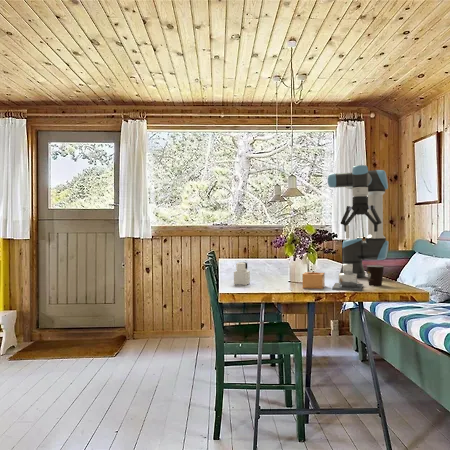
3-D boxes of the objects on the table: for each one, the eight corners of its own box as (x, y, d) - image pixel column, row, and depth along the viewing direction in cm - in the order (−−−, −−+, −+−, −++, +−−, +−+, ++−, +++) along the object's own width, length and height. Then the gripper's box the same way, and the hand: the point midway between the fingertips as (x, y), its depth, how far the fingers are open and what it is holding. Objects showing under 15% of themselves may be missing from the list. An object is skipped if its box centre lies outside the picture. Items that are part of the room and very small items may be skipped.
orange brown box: (305, 285, 232) (305, 272, 232) (324, 286, 229) (324, 272, 229) (302, 288, 223) (302, 274, 223) (322, 288, 220) (322, 274, 220)
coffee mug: (385, 286, 226) (384, 267, 226) (367, 286, 228) (367, 266, 228) (381, 283, 237) (381, 265, 237) (365, 283, 239) (365, 264, 239)
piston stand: (335, 284, 233) (335, 262, 233) (362, 285, 229) (362, 262, 229) (332, 289, 216) (332, 265, 216) (361, 290, 212) (361, 266, 212)
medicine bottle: (237, 283, 244) (237, 261, 244) (250, 283, 242) (249, 261, 242) (233, 284, 237) (233, 262, 237) (246, 285, 235) (246, 263, 235)
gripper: (333, 197, 225) (334, 238, 225) (382, 194, 210) (383, 238, 210) (339, 197, 231) (340, 237, 231) (387, 195, 216) (388, 238, 216)
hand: (360, 238), depth 220 cm, fingers open, 13 cm apart
